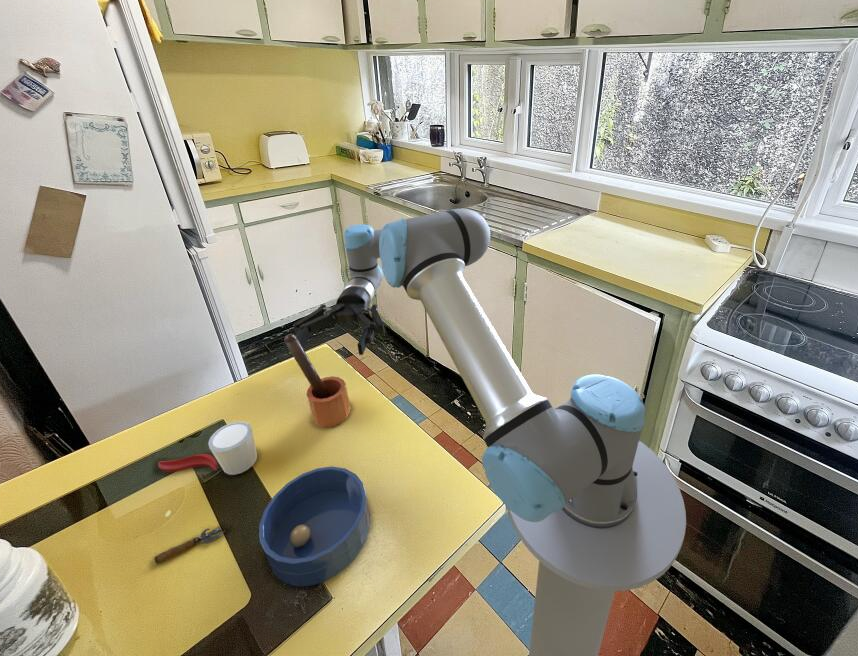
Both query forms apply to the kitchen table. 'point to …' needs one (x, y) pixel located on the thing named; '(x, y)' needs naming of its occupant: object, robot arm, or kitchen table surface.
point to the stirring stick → (306, 366)
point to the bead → (300, 535)
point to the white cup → (234, 447)
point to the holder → (330, 403)
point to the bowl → (316, 525)
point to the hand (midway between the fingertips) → (327, 350)
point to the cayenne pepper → (188, 463)
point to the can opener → (189, 544)
